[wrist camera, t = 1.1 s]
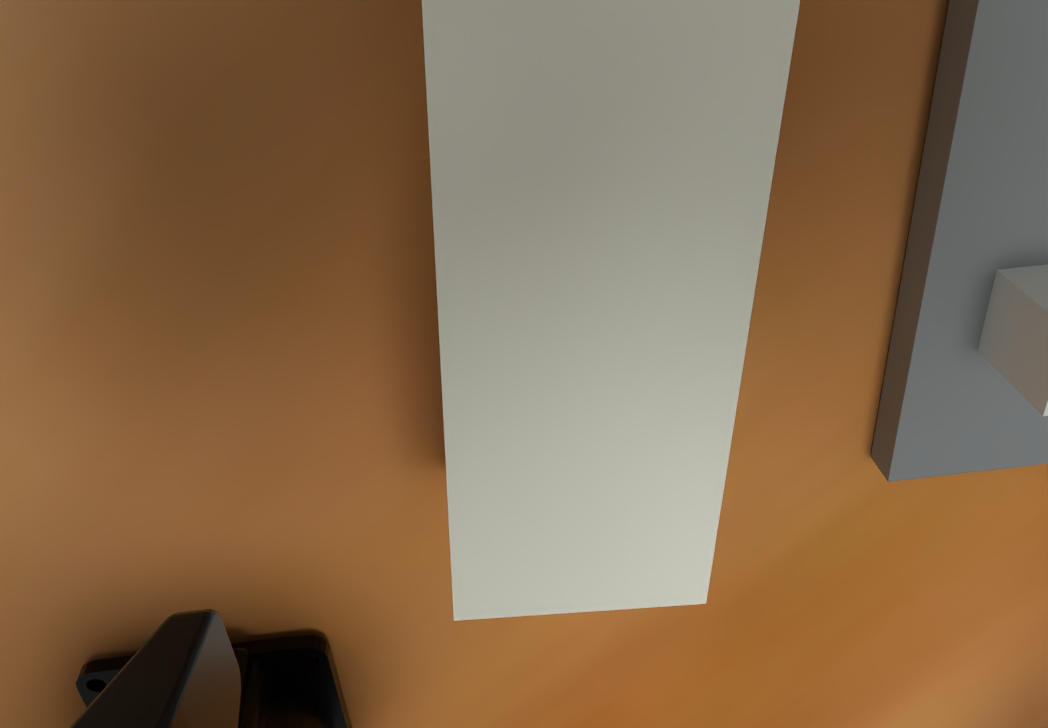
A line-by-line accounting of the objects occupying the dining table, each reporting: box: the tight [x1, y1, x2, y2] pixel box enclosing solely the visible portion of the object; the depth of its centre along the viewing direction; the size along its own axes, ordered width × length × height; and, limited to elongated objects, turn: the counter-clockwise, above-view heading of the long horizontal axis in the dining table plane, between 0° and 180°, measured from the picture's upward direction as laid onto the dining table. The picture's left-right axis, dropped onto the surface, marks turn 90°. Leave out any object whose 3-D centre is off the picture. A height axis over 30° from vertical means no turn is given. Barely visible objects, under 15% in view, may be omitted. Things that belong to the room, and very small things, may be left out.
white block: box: [422, 0, 800, 621], centre depth 16 cm, size 16×5×5 cm, turn 0°
